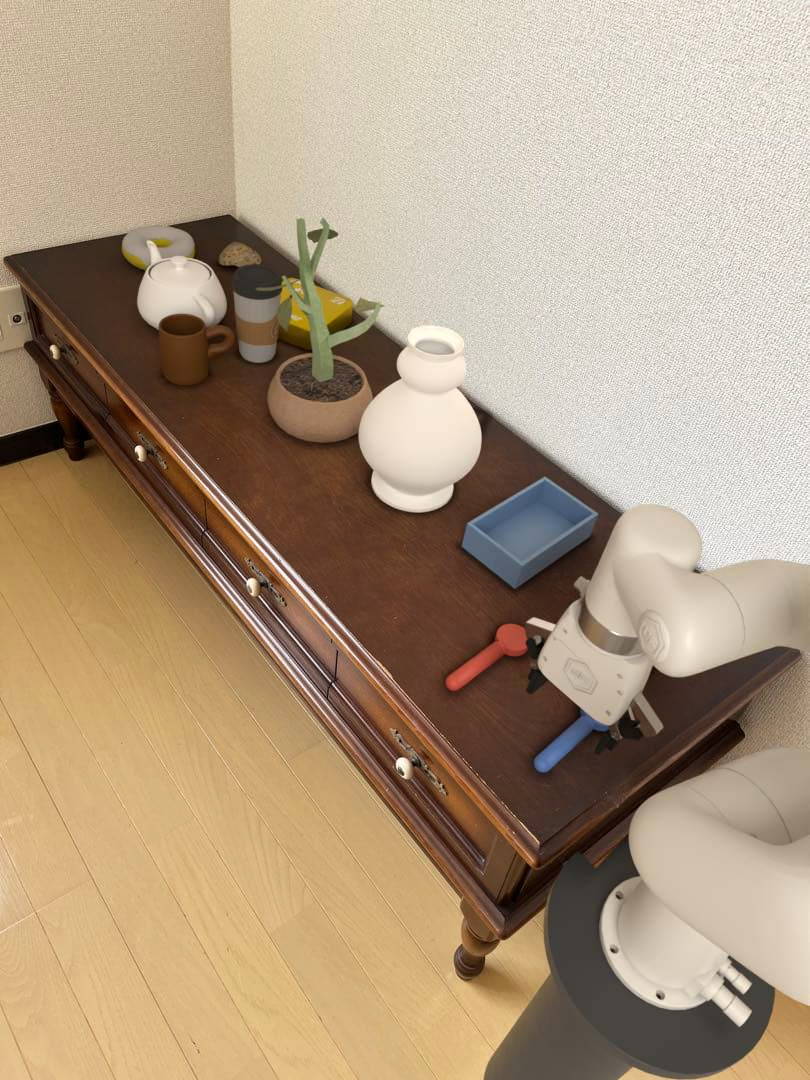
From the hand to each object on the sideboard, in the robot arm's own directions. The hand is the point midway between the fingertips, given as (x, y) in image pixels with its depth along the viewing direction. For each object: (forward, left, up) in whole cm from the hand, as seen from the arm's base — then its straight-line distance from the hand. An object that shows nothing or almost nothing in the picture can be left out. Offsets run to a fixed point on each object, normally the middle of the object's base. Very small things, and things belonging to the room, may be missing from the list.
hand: (569, 715), depth 90 cm
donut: (+123, -25, -7) cm, 126 cm away
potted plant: (+67, -19, -7) cm, 70 cm away
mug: (+85, -9, -7) cm, 86 cm away
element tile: (+89, -34, -7) cm, 96 cm away
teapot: (+102, -16, -7) cm, 103 cm away
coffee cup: (+85, -21, -7) cm, 88 cm away
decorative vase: (+43, -19, -7) cm, 48 cm away
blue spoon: (-1, -3, -7) cm, 7 cm away
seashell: (+114, -38, -7) cm, 121 cm away
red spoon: (+13, -3, -7) cm, 15 cm away
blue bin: (+24, -24, -7) cm, 35 cm away
